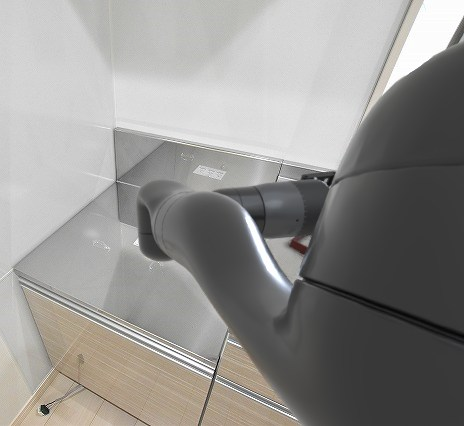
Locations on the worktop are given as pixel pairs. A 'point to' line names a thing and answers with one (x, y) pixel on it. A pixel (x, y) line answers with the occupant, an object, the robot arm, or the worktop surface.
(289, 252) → the worktop surface
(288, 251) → the worktop surface
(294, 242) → the dark red square frame
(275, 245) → the worktop surface
